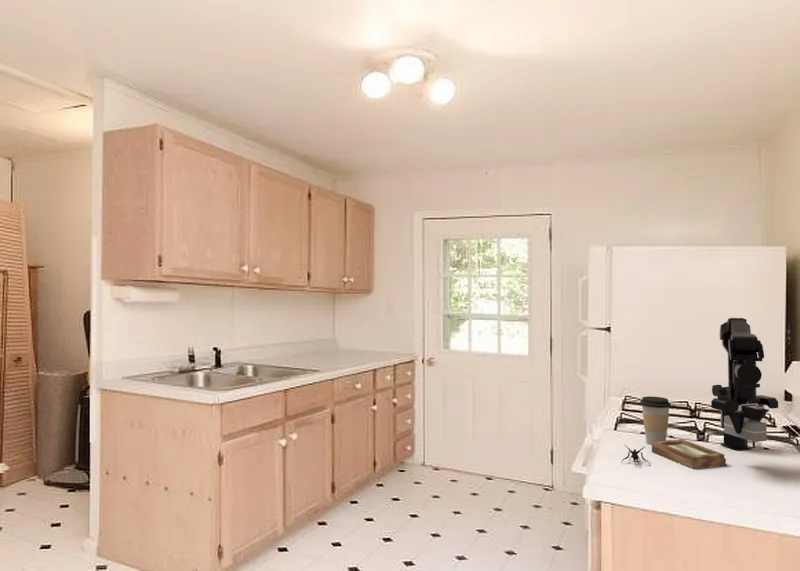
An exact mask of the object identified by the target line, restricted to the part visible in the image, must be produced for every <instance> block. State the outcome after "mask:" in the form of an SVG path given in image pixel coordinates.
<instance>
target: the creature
mask: <svg viewBox="0 0 800 571" xmlns="http://www.w3.org/2000/svg"><path fill="white" fill-rule="evenodd" d="M625 448H626V449H628V454H627V456H626V457H625V458H623V459H622V460H621V462H623V461H624V460H627V459H629V461H630V462H631V458H632V460H633V463H634V464H636V461H637V463H640V462H641V463H642V461H641V459H642V460H643V461H645V462H646V463H648V464H649V465H651V463H650V462H649V461H648V460H647V459H646V458H644V456H643V452H641V451H642V450H643V449H644V448H645V446H643V447H642V448H640V449H639V450H637V449H633V450H632V449H630V448H629V447H628V446H627V445H625ZM639 453H640V456H641V458H640V457H639V455H638V454H639ZM630 454H631V456H630ZM629 461H628V462H629Z"/></svg>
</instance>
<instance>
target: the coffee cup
mask: <svg viewBox="0 0 800 571" xmlns="http://www.w3.org/2000/svg"><path fill="white" fill-rule="evenodd" d="M641 399H642V400H640V403H639V404H640V405H641V407H642V408H641V409H642V420H643V428H644V433H645V434H644V435H645V442H646V444H648V445H651V446H653V442H657V441H667V432H668V426H669V417H670V408H671V406H672V405H671V402H669V399H668V398H666V397H661V396H650V395H649V396H643V397H642V398H641Z"/></svg>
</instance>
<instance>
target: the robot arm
mask: <svg viewBox="0 0 800 571" xmlns="http://www.w3.org/2000/svg"><path fill="white" fill-rule="evenodd" d="M719 340H720V341H721V346H722V347H723V349H724V351H726V353H727V381H728V382H727V383H728V384H727V386H722V384H713V385H712V388H711V392H712V393H711V394H712V396H714V398H713V399H712V400H711V402H710V406H711V408H712V409H714V410H718V411H721V413H720V418H719V419H720V427H721V429H723V430H724V416H729V417H730V419H731V421H732V424H733V426H734V429H735V432H736V433H737V434H740V433H741V430H742V426H743V421H744V417H745V418H749V419H753V420H757V421H760V422H762V420H763V418H764V417H765V416H766V414H767V413H768V412H770V410H771V409H779V401H778V399H777V398H776V397H772V396H768V395H763V394H759V395H758V394H757V388H761V383H759V382H760V381H761V379H762V377H763V376H762V375H763V373H762V371H761V369H760V368H759V367H758V365H757V362H763V359H764V358H765V353H764V352H765V351H764V346H763V344H762V342H761V340H760V339H759V340H758V336H756V334H754V333H752V332H751V325H750V324H748V323H747V318H744V317H730V318H727V321H726V322H724V323H722V324H721V325H720V326H719ZM765 406H766V407H768V408H765ZM748 443H749V440H746V439H743V438H739V437H736V436H733V435H730V434H726V433H724V432H723V443H722V442H721V443H720V446H723V447H725V448H728V449H731V450H733V451H744V450H745V451H746V450H752V449H753V447H752V446H749V444H748Z"/></svg>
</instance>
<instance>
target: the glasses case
mask: <svg viewBox="0 0 800 571" xmlns="http://www.w3.org/2000/svg"><path fill="white" fill-rule="evenodd" d="M767 432H768V431H767V423H766V422H764V421H757V420H753V419H749V418H745V417H744V421H743V426H742V430H741V433H740V434H737V433H736V432H735V429H734V426H733V424H732V421H731V419H730V417H729V416H724V429H723V434H724V433H726V434H730V435H733V436H736V437H739V438H743V439H746V440H748V442H753V443H758V442H766V441H767V440H768V435H767V434H768V433H767Z"/></svg>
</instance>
